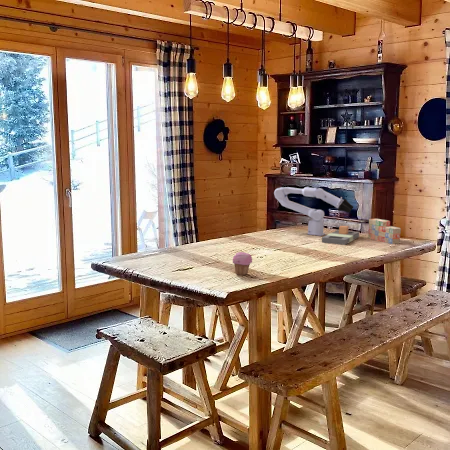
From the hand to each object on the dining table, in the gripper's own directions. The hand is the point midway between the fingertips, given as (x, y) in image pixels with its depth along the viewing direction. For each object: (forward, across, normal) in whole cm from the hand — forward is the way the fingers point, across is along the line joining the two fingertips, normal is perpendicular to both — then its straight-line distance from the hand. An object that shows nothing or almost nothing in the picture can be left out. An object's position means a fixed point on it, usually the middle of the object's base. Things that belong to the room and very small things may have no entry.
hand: (351, 209), depth 335 cm
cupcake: (-22, -120, +12) cm, 123 cm away
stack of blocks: (+26, -4, +7) cm, 27 cm away
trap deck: (+3, -14, +16) cm, 21 cm away
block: (+3, -8, +13) cm, 16 cm away
